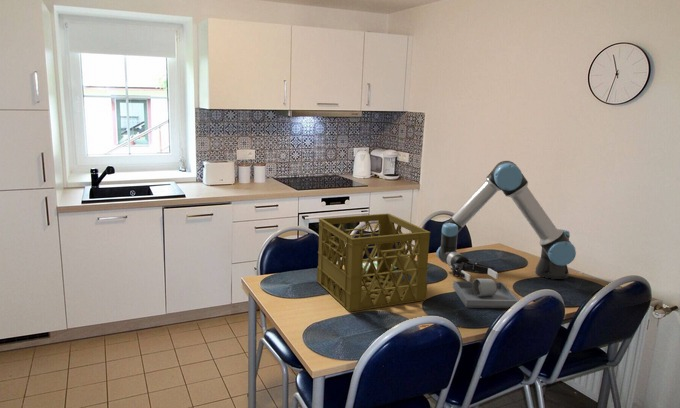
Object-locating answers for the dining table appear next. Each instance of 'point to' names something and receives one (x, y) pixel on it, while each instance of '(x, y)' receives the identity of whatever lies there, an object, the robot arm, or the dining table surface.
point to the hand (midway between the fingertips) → (483, 277)
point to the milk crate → (387, 255)
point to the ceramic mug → (484, 287)
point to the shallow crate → (498, 300)
